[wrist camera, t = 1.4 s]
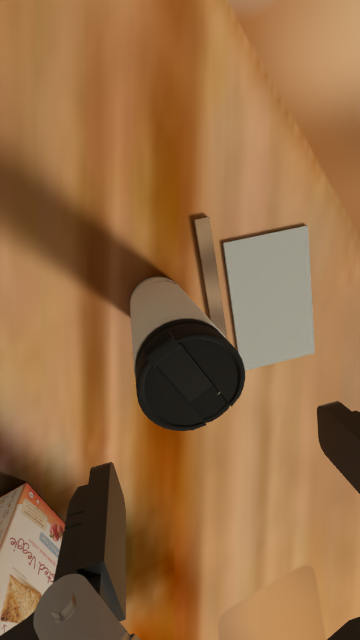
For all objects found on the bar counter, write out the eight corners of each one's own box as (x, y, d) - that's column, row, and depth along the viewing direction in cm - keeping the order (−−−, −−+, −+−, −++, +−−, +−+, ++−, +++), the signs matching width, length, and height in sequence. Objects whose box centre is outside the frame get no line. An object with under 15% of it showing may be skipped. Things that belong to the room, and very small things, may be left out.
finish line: (193, 219, 33) (194, 219, 33) (207, 217, 34) (209, 216, 33) (222, 396, 40) (223, 398, 40) (234, 393, 40) (235, 395, 40)
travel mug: (161, 262, 34) (207, 305, 15) (195, 308, 36) (272, 396, 17) (116, 296, 34) (105, 381, 15) (152, 340, 37) (182, 461, 18)
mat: (222, 242, 35) (223, 243, 34) (306, 225, 36) (307, 225, 35) (240, 370, 40) (241, 371, 39) (313, 351, 41) (314, 352, 40)
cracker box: (91, 544, 44) (63, 807, 24) (53, 565, 44) (-6, 848, 24) (29, 478, 39) (-69, 736, 19) (-14, 502, 39) (-156, 785, 19)
